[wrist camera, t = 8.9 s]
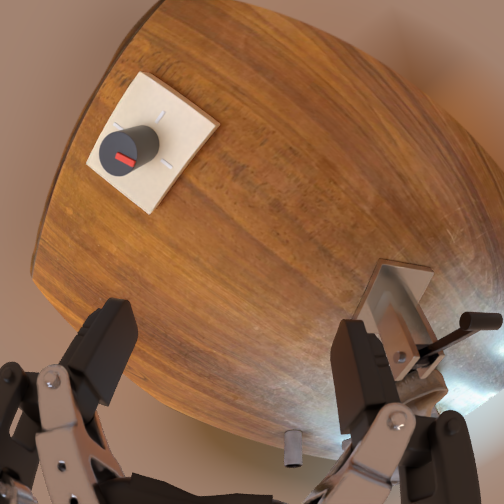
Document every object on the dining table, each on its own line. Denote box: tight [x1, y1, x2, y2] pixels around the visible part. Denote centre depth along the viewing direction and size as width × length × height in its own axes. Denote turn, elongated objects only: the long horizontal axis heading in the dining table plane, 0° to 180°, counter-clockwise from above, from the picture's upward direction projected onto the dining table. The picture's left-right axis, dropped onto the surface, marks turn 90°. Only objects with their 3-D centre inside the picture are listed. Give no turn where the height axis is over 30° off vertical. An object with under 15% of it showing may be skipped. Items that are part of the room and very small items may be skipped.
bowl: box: [395, 369, 448, 417], centre depth 43 cm, size 18×14×10 cm
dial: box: [99, 125, 159, 177], centre depth 22 cm, size 4×4×5 cm
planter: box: [284, 430, 302, 468], centre depth 55 cm, size 4×4×10 cm
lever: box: [411, 312, 503, 369], centre depth 21 cm, size 13×6×2 cm, turn 172°
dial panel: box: [86, 71, 220, 215], centre depth 25 cm, size 12×10×3 cm
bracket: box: [352, 259, 445, 381], centre depth 29 cm, size 12×9×13 cm
